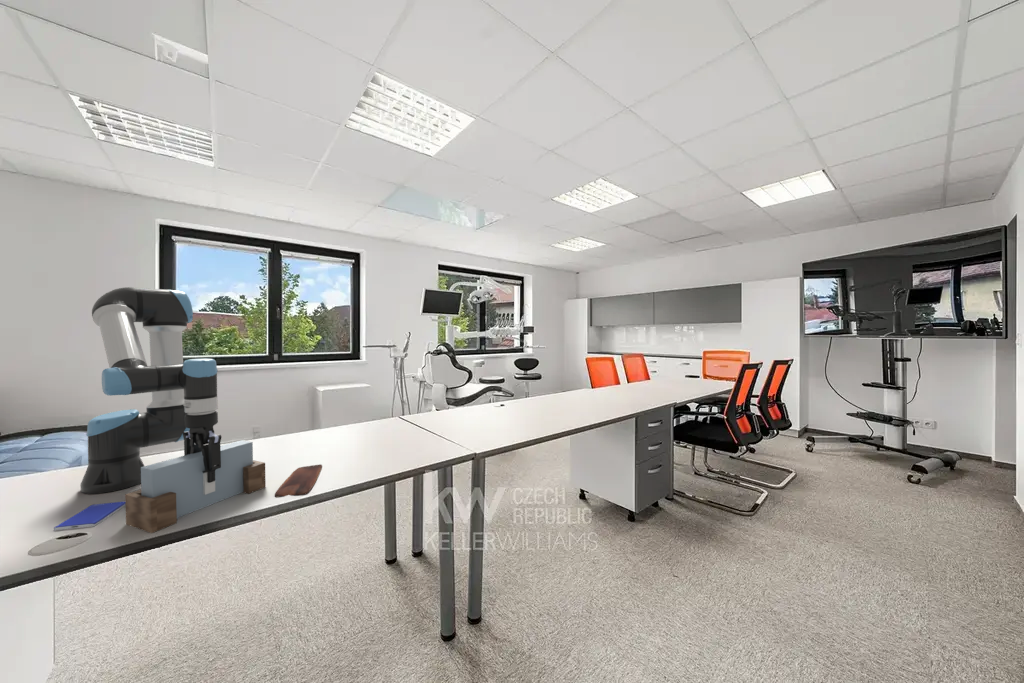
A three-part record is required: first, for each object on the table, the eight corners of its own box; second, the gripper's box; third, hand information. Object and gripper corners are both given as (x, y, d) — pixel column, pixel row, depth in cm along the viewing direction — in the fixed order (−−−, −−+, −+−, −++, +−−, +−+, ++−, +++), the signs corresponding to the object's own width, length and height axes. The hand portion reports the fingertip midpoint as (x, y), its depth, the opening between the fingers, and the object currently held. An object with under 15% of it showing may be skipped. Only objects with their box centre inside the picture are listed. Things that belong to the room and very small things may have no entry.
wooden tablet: (297, 464, 142) (326, 458, 144) (297, 469, 142) (326, 464, 144) (271, 495, 116) (307, 488, 118) (272, 502, 116) (308, 495, 119)
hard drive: (90, 504, 108) (53, 526, 96) (126, 501, 111) (94, 522, 99) (91, 510, 108) (53, 532, 97) (127, 506, 111) (94, 528, 99)
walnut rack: (126, 524, 100) (125, 494, 99) (242, 481, 128) (241, 458, 127) (151, 533, 96) (150, 501, 95) (265, 487, 124) (265, 462, 123)
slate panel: (142, 523, 100) (140, 467, 100) (242, 485, 125) (241, 440, 124) (153, 527, 99) (152, 470, 98) (253, 487, 123) (252, 441, 122)
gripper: (166, 412, 110) (168, 491, 111) (207, 417, 104) (209, 501, 105) (196, 407, 117) (197, 481, 118) (235, 412, 111) (237, 490, 112)
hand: (203, 490), depth 111 cm, fingers closed on slate panel, 5 cm apart
